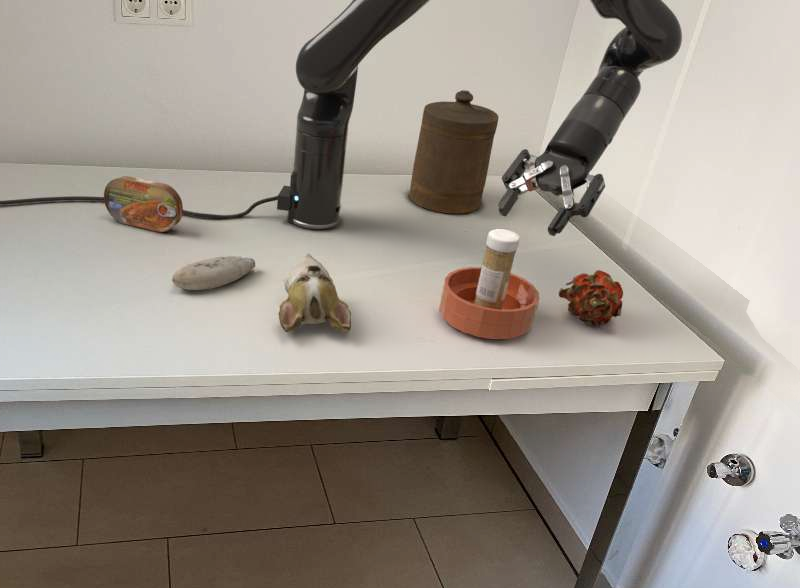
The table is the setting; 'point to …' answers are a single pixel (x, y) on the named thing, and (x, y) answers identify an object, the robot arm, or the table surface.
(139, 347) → the table surface
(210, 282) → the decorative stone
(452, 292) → the bowl
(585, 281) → the dragon fruit
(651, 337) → the table surface
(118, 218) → the tin
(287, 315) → the ceramic sculpture
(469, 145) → the wooden container
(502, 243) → the sprinkles bottle
